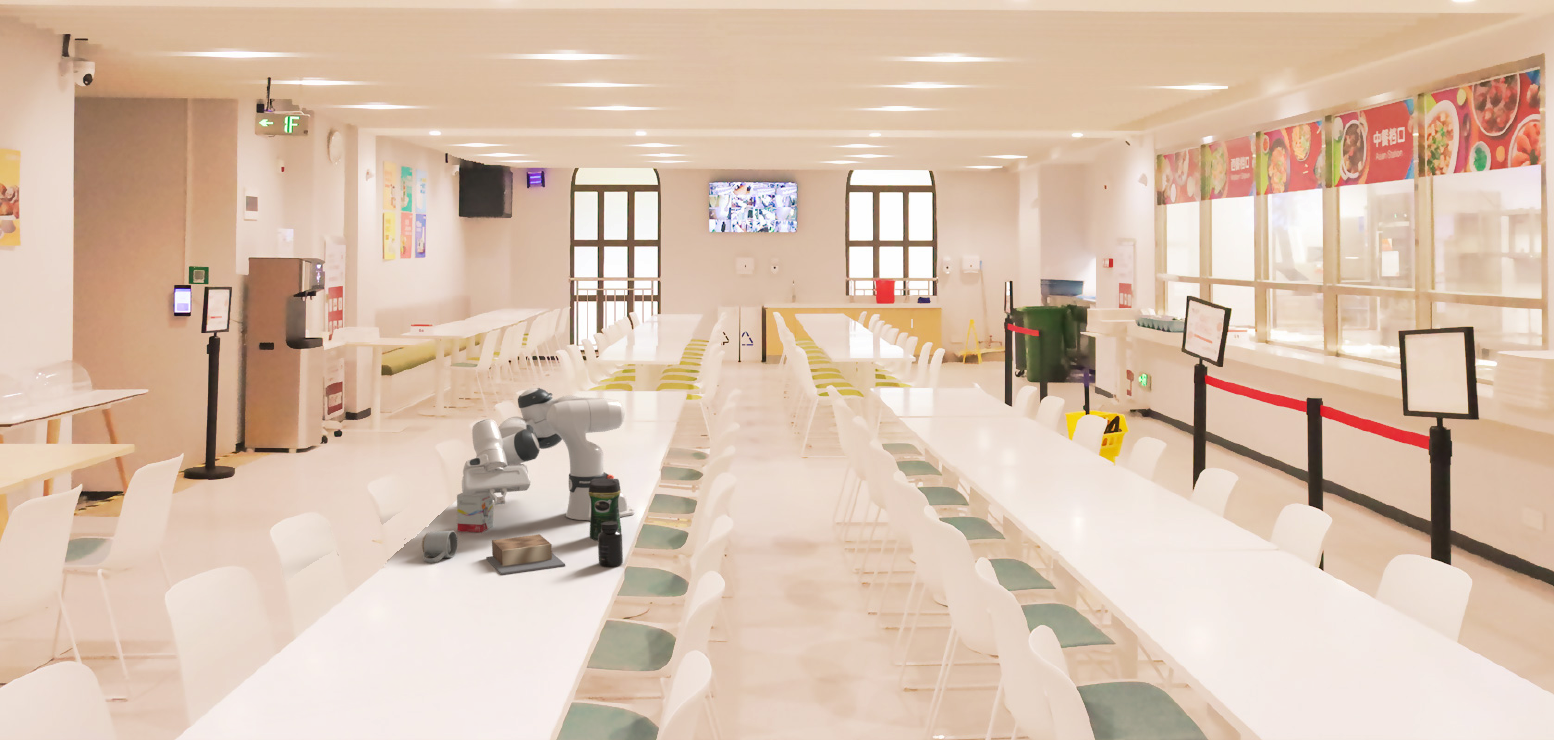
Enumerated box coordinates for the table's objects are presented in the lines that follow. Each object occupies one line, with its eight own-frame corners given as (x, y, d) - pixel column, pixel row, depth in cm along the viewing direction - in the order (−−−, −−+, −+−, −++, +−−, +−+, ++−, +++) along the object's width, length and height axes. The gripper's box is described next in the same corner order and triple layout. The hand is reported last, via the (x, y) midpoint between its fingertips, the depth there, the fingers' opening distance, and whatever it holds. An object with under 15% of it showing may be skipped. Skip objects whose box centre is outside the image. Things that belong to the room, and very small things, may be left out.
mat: (547, 550, 320) (547, 549, 320) (565, 566, 305) (565, 564, 305) (486, 559, 312) (486, 557, 311) (501, 575, 297) (501, 572, 297)
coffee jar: (623, 534, 338) (622, 476, 336) (618, 541, 331) (617, 481, 328) (592, 534, 339) (591, 475, 337) (587, 541, 331) (586, 481, 329)
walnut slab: (539, 534, 319) (551, 544, 309) (539, 548, 320) (551, 559, 310) (491, 540, 313) (502, 550, 302) (492, 555, 313) (502, 566, 303)
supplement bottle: (610, 559, 312) (609, 518, 311) (627, 563, 308) (627, 522, 307) (593, 565, 306) (592, 523, 305) (611, 569, 303) (610, 527, 301)
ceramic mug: (432, 552, 318) (431, 526, 317) (458, 553, 317) (457, 527, 316) (416, 563, 308) (415, 537, 307) (443, 564, 307) (442, 538, 306)
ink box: (481, 533, 339) (480, 496, 338) (456, 531, 341) (455, 494, 340) (494, 526, 348) (493, 490, 346) (469, 524, 349) (468, 488, 348)
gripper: (524, 468, 341) (532, 505, 334) (457, 473, 331) (464, 512, 324) (527, 457, 336) (536, 494, 329) (460, 461, 327) (467, 500, 320)
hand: (500, 503), depth 326 cm, fingers closed
